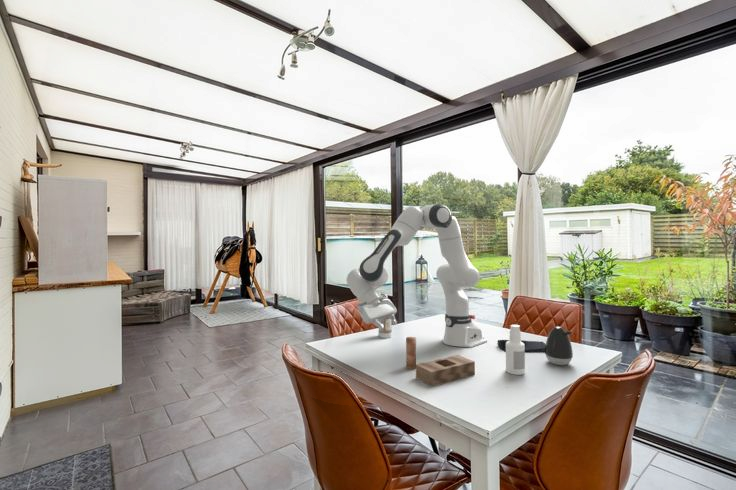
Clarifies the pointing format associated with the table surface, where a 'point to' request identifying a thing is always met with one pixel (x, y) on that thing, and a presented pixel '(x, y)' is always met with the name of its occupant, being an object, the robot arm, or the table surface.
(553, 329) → the pump dispenser
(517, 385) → the table surface
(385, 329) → the bath foam
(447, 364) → the socket block
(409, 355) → the peg
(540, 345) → the dark slate chunk
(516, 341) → the white bottle
